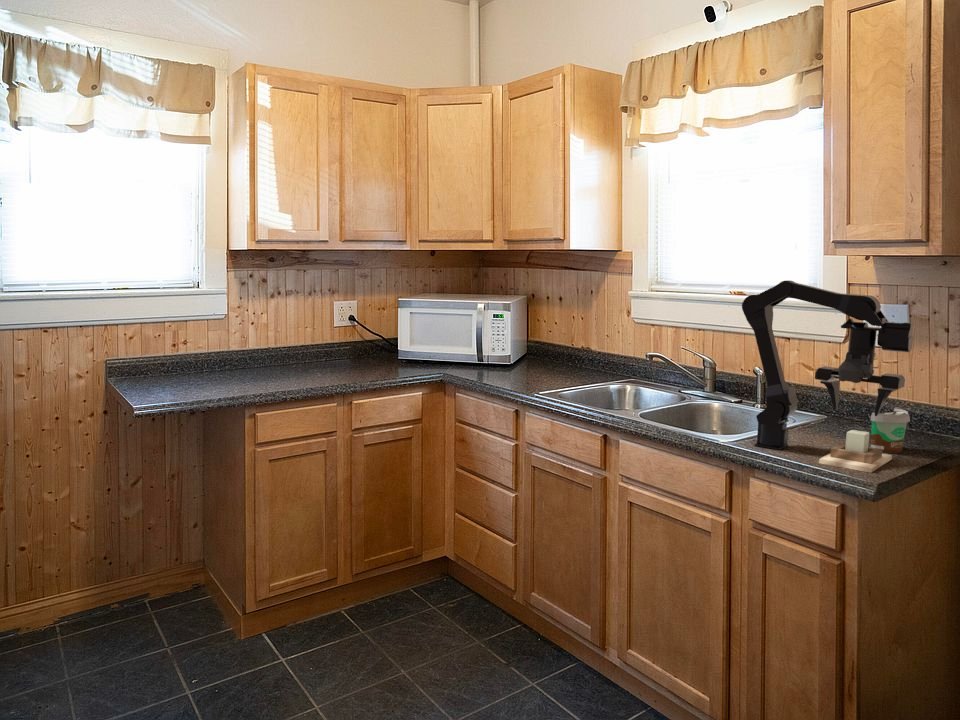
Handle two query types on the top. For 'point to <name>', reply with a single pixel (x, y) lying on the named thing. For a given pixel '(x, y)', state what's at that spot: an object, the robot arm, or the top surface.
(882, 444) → the food container
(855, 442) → the pale green block
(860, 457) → the post base
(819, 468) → the top surface
